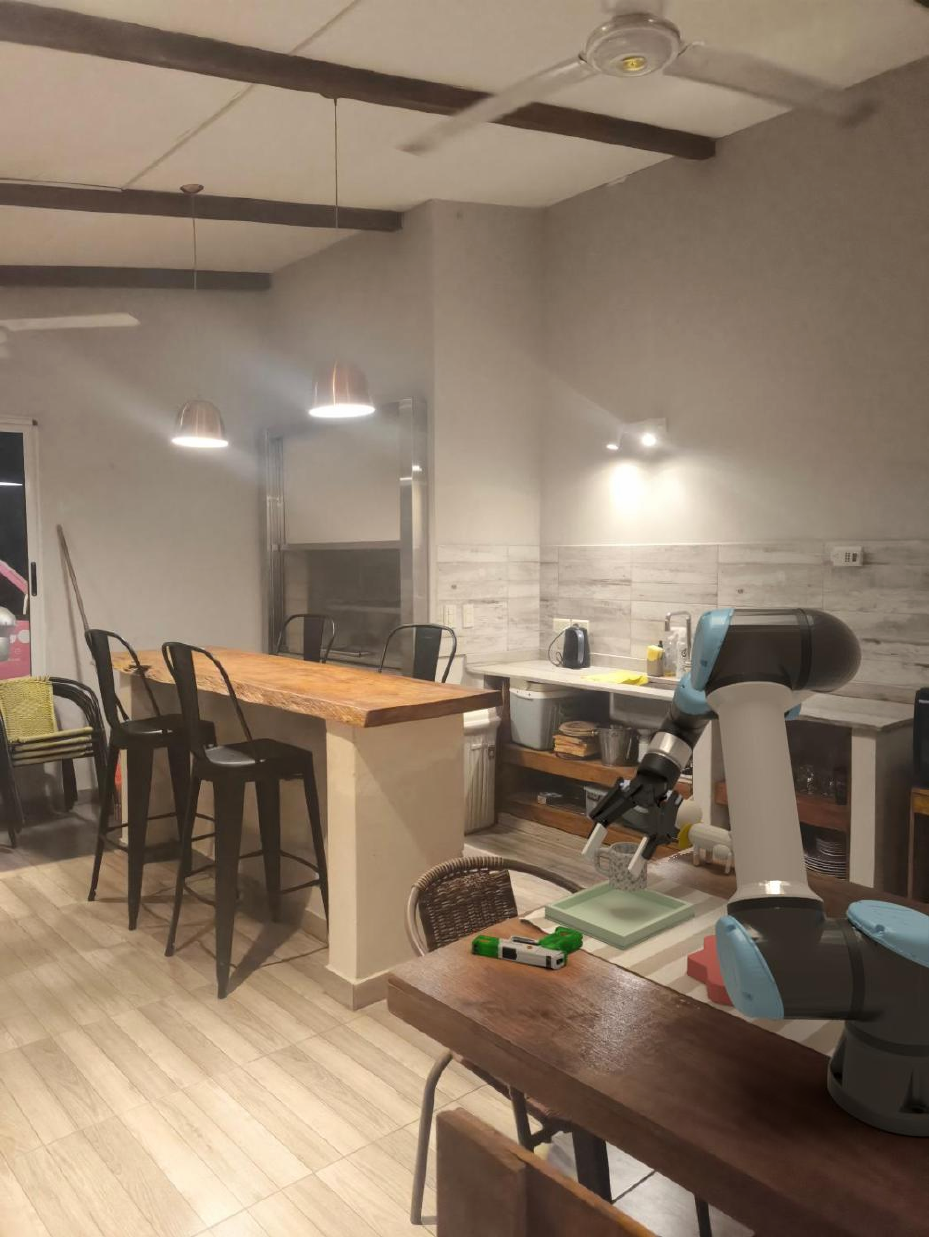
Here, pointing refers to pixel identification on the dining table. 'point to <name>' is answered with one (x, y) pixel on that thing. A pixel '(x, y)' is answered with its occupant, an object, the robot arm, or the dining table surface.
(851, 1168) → the dining table surface
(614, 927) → the tray
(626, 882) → the mug
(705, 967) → the plaque
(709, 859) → the toy
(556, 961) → the handgun
